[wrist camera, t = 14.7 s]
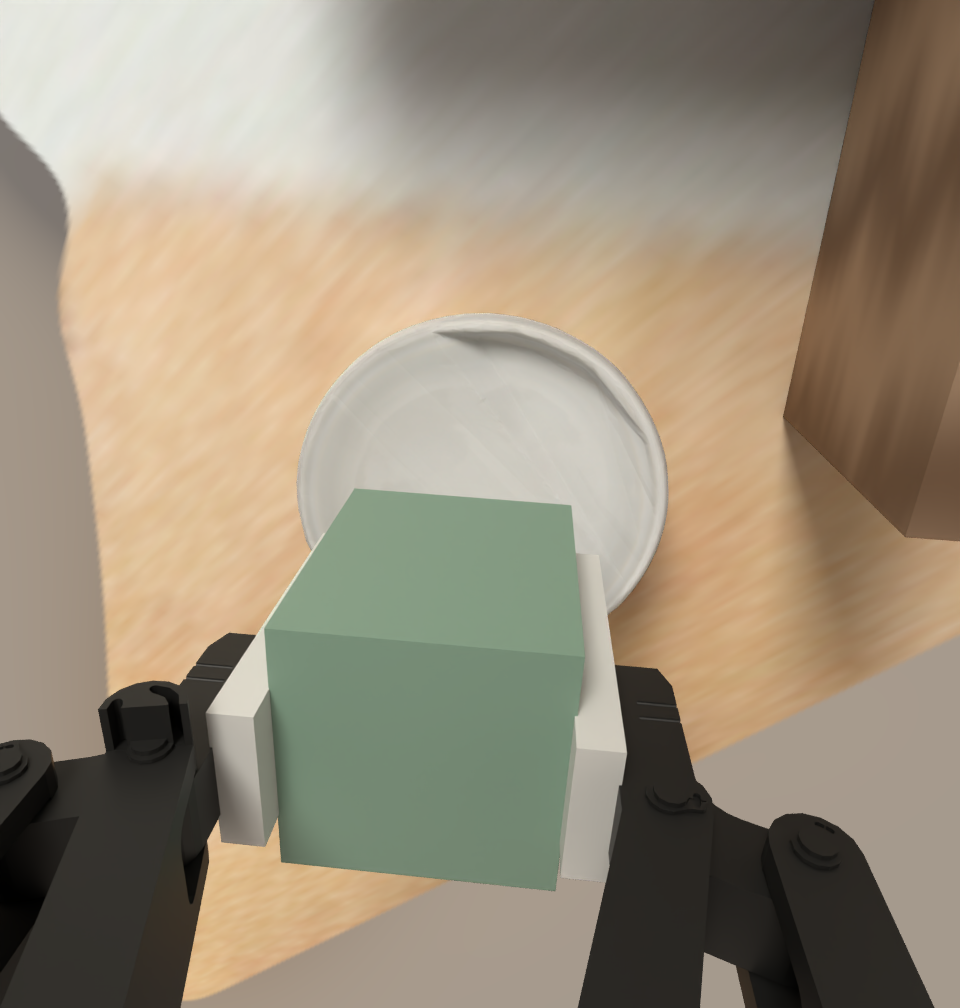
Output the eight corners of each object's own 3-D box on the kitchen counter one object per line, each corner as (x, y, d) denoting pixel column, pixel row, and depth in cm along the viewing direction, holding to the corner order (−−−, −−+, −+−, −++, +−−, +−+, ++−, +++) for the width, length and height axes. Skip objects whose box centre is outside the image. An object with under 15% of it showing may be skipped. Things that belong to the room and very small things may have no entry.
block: (354, 488, 17) (264, 628, 11) (570, 504, 17) (584, 656, 11) (357, 668, 19) (281, 861, 13) (551, 686, 19) (555, 891, 13)
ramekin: (704, 366, 25) (741, 410, 20) (569, 622, 30) (573, 707, 25) (396, 238, 24) (358, 251, 19) (305, 520, 29) (256, 588, 24)
